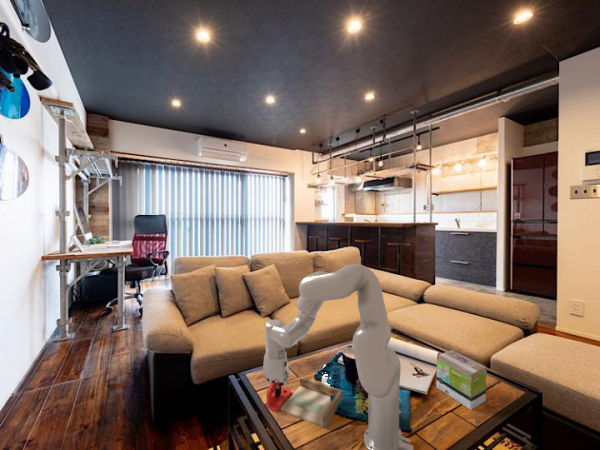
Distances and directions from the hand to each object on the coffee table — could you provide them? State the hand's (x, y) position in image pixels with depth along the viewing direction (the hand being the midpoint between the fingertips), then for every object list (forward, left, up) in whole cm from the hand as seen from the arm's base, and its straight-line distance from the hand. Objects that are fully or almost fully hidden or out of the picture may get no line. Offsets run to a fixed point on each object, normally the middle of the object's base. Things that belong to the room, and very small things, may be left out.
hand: (276, 394), depth 113 cm
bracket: (-2, 0, -2) cm, 2 cm away
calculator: (-17, -23, -2) cm, 29 cm away
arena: (-15, -3, -2) cm, 15 cm away
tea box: (-65, -37, -2) cm, 75 cm away
